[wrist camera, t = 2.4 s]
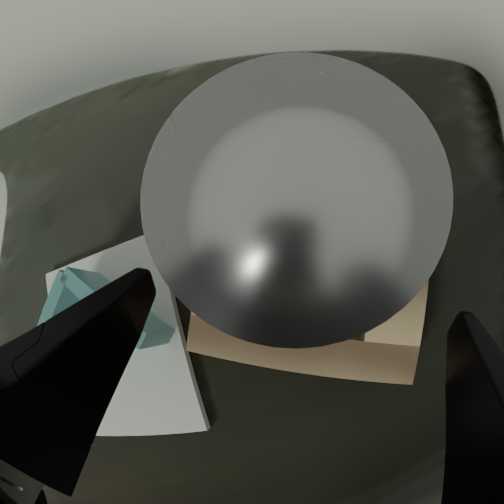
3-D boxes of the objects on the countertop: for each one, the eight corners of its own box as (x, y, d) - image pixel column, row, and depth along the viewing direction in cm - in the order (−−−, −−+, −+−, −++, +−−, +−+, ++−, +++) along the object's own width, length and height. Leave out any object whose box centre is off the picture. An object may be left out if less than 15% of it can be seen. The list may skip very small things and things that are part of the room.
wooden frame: (401, 374, 16) (412, 384, 14) (202, 345, 19) (185, 350, 16) (419, 206, 17) (432, 193, 15) (228, 186, 20) (216, 170, 18)
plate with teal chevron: (210, 427, 18) (185, 452, 14) (85, 433, 20) (51, 447, 16) (161, 231, 21) (128, 216, 17) (50, 275, 22) (13, 268, 18)
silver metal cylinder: (360, 294, 17) (503, 253, 3) (296, 324, 18) (204, 397, 3) (331, 231, 18) (347, 24, 4) (268, 260, 19) (115, 129, 4)
